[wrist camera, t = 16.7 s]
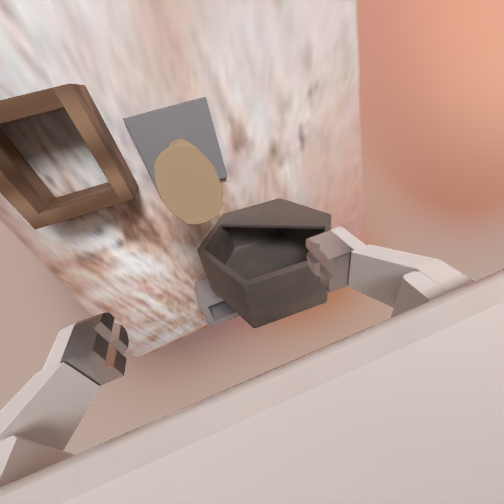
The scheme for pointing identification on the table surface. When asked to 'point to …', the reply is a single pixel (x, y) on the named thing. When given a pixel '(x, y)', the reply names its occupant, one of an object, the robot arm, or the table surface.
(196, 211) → the handle
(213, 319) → the tray
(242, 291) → the planter
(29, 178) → the block
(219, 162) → the mat
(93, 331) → the robot arm
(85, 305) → the table surface
